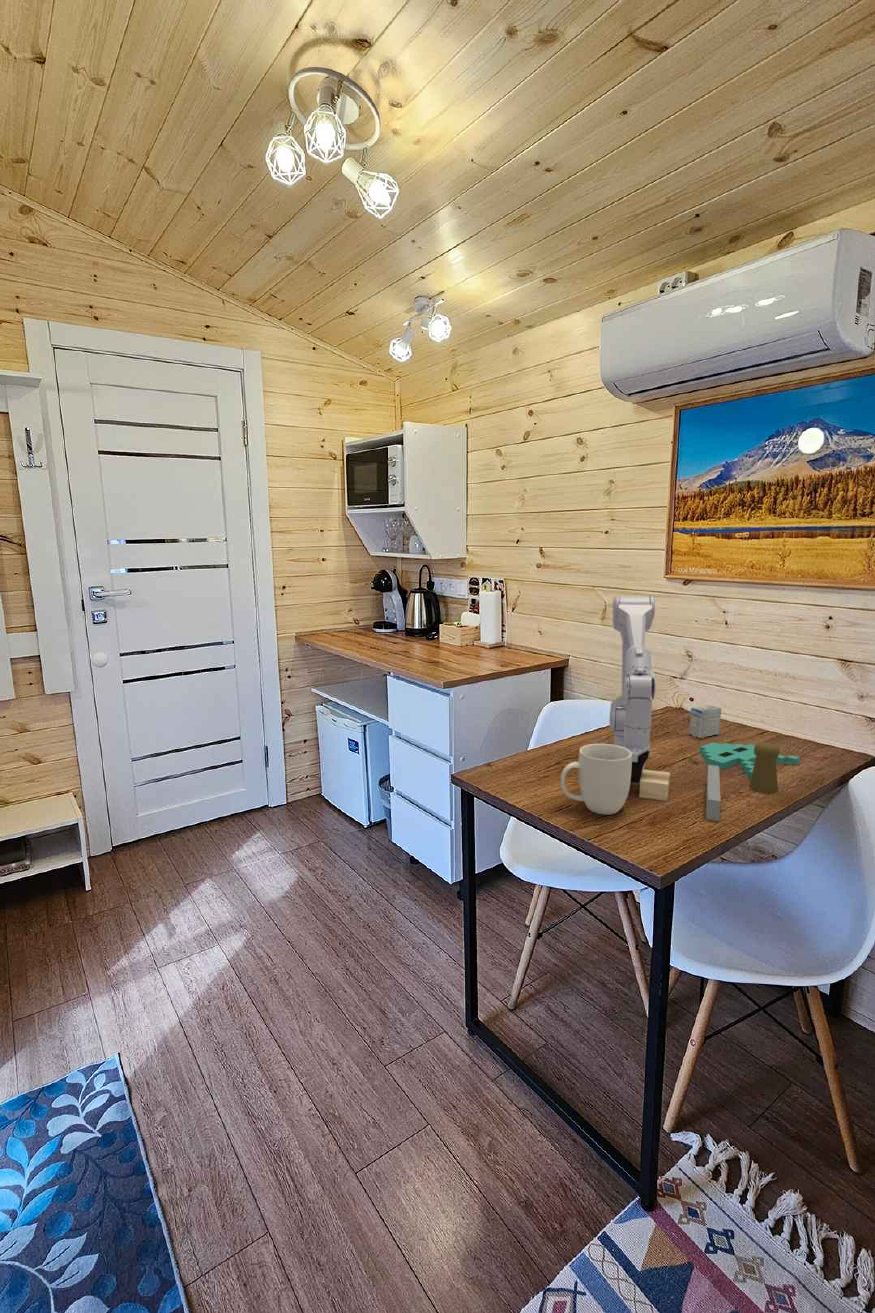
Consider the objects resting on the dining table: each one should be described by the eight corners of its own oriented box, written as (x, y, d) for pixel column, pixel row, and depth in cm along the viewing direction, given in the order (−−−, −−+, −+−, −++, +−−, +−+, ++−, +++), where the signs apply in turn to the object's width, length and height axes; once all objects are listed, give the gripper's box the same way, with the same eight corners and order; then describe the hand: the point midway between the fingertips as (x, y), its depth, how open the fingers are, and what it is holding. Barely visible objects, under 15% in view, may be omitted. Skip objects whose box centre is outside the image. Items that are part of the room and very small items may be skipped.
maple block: (642, 785, 149) (643, 769, 148) (668, 788, 146) (669, 772, 146) (639, 797, 142) (640, 781, 141) (667, 801, 139) (668, 784, 138)
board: (706, 782, 149) (708, 764, 149) (717, 784, 149) (719, 766, 148) (706, 819, 130) (707, 799, 129) (719, 821, 129) (720, 801, 128)
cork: (744, 783, 149) (748, 739, 147) (771, 784, 148) (775, 739, 146) (754, 793, 143) (758, 747, 141) (782, 794, 142) (786, 748, 140)
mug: (565, 819, 130) (566, 760, 128) (555, 798, 141) (557, 743, 139) (636, 819, 130) (639, 759, 128) (621, 798, 141) (623, 743, 139)
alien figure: (799, 765, 162) (727, 745, 178) (799, 757, 161) (727, 738, 178) (756, 782, 151) (684, 759, 167) (756, 773, 150) (684, 751, 167)
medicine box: (707, 731, 190) (709, 704, 188) (719, 735, 186) (721, 707, 184) (688, 735, 186) (690, 707, 185) (700, 739, 182) (702, 711, 181)
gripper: (623, 715, 151) (621, 769, 153) (615, 732, 138) (612, 790, 140) (654, 718, 148) (651, 772, 151) (648, 736, 135) (645, 794, 138)
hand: (634, 781), depth 145 cm, fingers closed
